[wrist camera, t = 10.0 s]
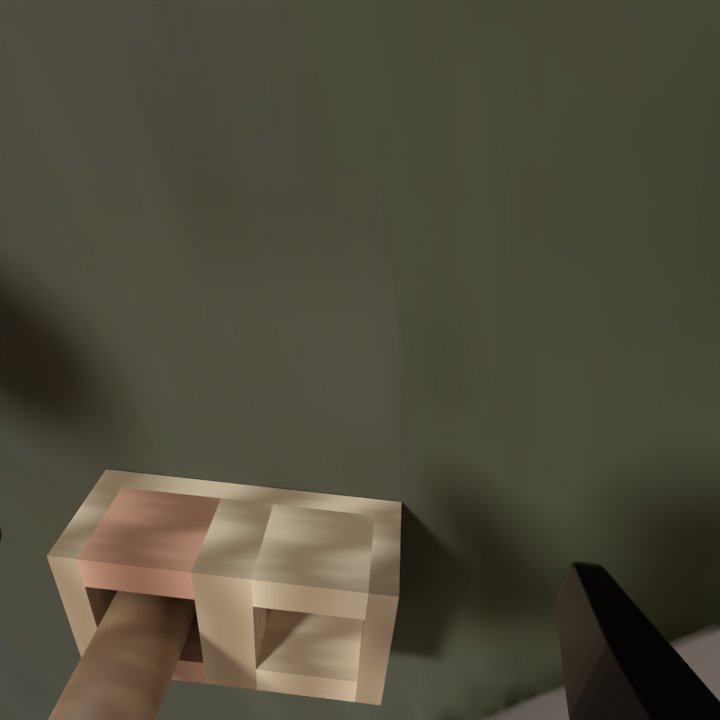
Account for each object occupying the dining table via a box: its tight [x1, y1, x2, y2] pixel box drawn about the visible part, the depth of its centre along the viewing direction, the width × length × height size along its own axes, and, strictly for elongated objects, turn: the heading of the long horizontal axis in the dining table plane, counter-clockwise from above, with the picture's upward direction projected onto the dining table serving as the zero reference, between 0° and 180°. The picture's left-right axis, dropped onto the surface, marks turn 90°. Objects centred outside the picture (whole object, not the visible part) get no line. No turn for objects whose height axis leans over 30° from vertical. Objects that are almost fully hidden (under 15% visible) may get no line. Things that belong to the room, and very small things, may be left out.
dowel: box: [48, 591, 197, 720], centre depth 23 cm, size 4×4×10 cm
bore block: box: [47, 469, 401, 705], centre depth 26 cm, size 14×8×5 cm, turn 86°
